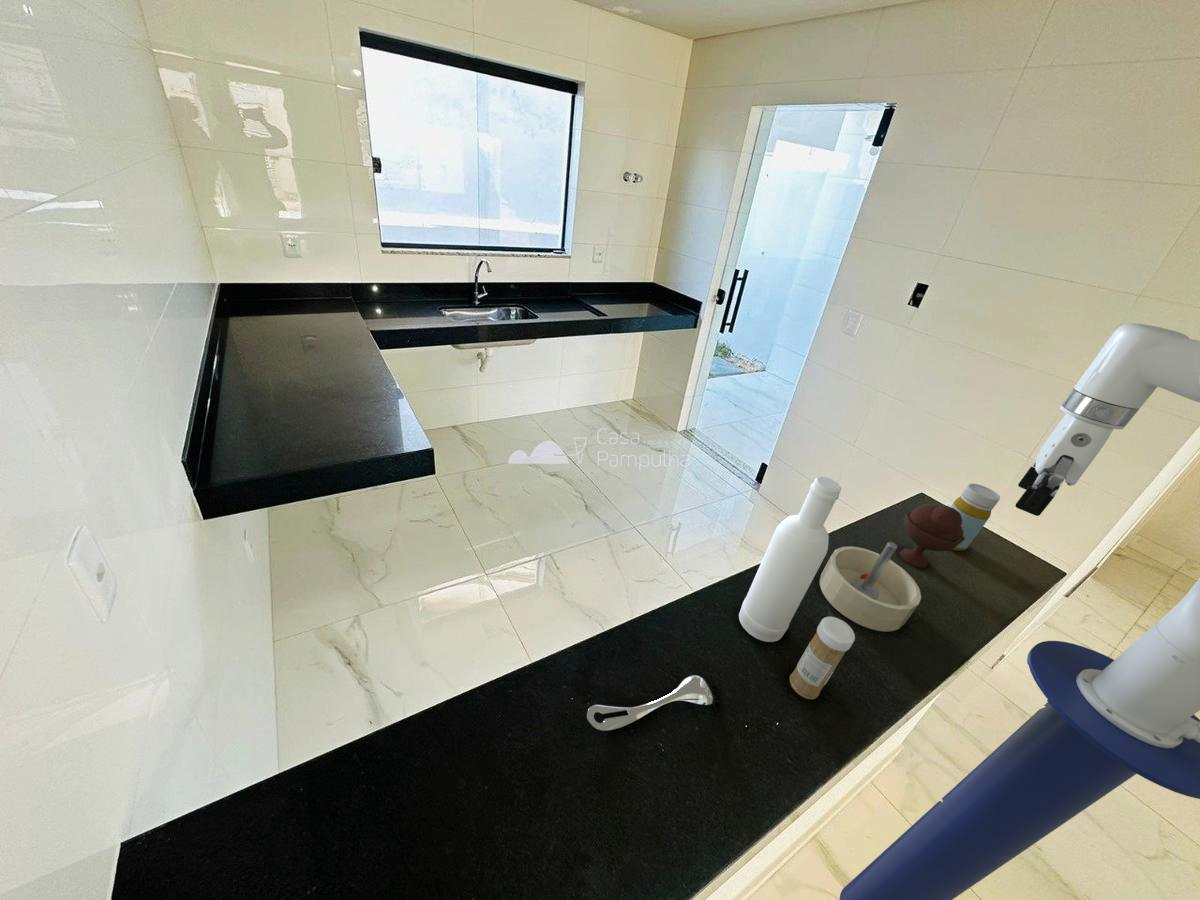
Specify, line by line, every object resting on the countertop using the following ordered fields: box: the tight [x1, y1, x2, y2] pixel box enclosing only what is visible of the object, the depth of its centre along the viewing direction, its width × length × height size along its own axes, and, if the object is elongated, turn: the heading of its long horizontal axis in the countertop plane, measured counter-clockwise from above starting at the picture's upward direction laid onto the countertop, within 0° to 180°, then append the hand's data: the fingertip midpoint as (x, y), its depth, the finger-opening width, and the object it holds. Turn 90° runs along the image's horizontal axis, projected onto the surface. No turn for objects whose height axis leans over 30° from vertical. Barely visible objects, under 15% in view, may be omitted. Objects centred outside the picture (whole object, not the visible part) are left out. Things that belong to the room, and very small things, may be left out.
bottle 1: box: [738, 476, 842, 643], centre depth 73 cm, size 8×8×30 cm
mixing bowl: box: [819, 546, 922, 632], centre depth 88 cm, size 16×16×6 cm
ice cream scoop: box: [585, 673, 717, 732], centre depth 64 cm, size 20×4×5 cm
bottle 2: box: [950, 483, 1001, 552], centre depth 106 cm, size 7×7×15 cm
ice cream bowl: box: [899, 503, 965, 568], centre depth 99 cm, size 11×11×15 cm
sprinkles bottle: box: [789, 616, 856, 700], centre depth 67 cm, size 5×5×13 cm
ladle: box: [851, 541, 898, 600], centre depth 86 cm, size 5×5×13 cm
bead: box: [860, 574, 868, 580], centre depth 91 cm, size 2×2×2 cm
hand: (1027, 500), depth 78 cm, fingers open, 9 cm apart
